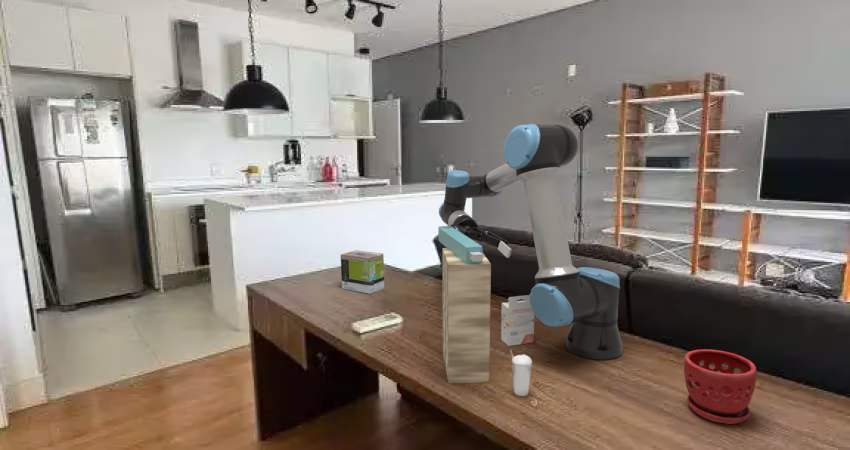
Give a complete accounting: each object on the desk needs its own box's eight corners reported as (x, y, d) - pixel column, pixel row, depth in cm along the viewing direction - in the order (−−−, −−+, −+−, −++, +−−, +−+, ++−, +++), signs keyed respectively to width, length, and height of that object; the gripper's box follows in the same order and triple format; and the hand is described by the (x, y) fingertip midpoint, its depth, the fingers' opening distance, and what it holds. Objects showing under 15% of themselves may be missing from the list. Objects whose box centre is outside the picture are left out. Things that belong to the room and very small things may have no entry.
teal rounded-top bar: (437, 239, 140) (437, 226, 140) (450, 238, 141) (450, 225, 140) (469, 266, 109) (469, 249, 108) (486, 265, 110) (486, 248, 109)
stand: (442, 351, 134) (442, 248, 128) (477, 350, 134) (478, 247, 129) (448, 383, 116) (448, 264, 111) (489, 382, 116) (490, 263, 111)
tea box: (385, 288, 193) (384, 253, 191) (369, 295, 185) (368, 258, 183) (357, 283, 201) (355, 249, 199) (341, 289, 193) (339, 253, 190)
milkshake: (514, 385, 115) (515, 346, 113) (534, 392, 112) (535, 352, 110) (504, 392, 111) (505, 352, 110) (525, 400, 108) (526, 359, 106)
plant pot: (724, 395, 109) (729, 346, 107) (766, 428, 96) (773, 374, 94) (668, 396, 109) (672, 347, 107) (703, 430, 96) (709, 375, 94)
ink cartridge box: (526, 336, 144) (527, 290, 141) (534, 342, 139) (535, 295, 137) (500, 339, 142) (501, 292, 139) (507, 346, 137) (508, 297, 134)
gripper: (492, 240, 162) (521, 267, 143) (425, 231, 153) (447, 258, 134) (499, 219, 160) (529, 244, 141) (431, 209, 151) (454, 233, 132)
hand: (489, 251), depth 138 cm, fingers open, 13 cm apart
